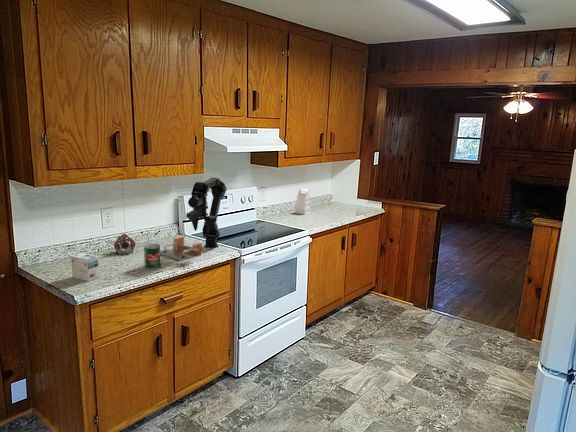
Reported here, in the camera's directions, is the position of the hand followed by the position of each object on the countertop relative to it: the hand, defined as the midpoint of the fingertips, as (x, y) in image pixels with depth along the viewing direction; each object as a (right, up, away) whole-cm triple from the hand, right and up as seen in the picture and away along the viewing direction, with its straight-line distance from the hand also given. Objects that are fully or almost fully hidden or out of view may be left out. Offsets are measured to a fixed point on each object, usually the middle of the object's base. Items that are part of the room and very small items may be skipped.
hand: (201, 231), depth 247 cm
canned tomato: (-20, -17, -23) cm, 35 cm away
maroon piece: (-43, -12, -1) cm, 44 cm away
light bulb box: (-46, -20, -42) cm, 65 cm away
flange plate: (-15, -13, -5) cm, 20 cm away
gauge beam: (-11, -12, 0) cm, 17 cm away
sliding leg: (-17, -11, +4) cm, 20 cm away
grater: (+61, +12, +128) cm, 142 cm away
